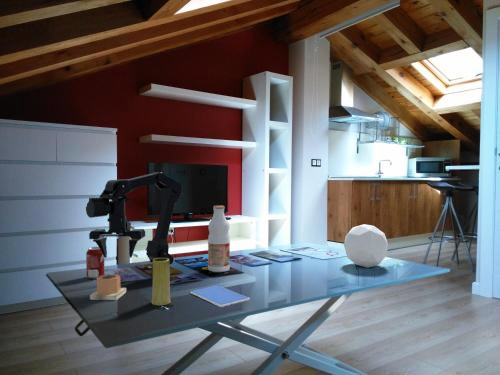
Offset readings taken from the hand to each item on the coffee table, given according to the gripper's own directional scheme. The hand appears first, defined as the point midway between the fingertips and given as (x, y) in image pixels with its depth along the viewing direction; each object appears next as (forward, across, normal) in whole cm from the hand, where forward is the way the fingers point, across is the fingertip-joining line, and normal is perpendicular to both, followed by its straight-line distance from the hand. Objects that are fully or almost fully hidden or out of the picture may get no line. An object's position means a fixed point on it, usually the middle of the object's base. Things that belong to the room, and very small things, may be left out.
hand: (118, 257), depth 145 cm
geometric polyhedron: (+14, -99, -41) cm, 108 cm away
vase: (+12, -19, +14) cm, 27 cm away
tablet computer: (+13, -37, +7) cm, 40 cm away
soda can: (+12, +15, -16) cm, 25 cm away
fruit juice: (+13, -33, -30) cm, 47 cm away
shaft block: (+11, +1, +8) cm, 14 cm away
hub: (+10, +1, +8) cm, 13 cm away
